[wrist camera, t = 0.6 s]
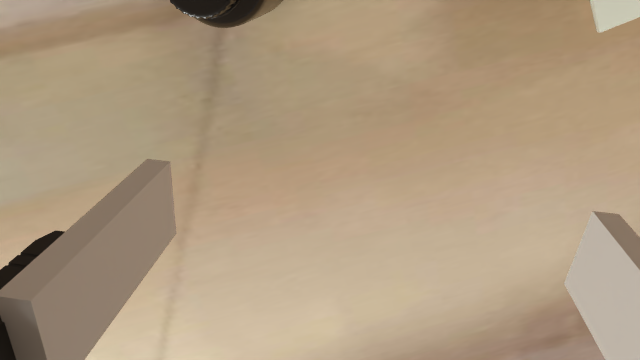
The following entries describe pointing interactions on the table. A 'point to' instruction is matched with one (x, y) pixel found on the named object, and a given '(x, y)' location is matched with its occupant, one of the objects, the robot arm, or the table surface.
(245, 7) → the supplement bottle
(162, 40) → the table surface
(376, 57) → the table surface
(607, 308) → the robot arm
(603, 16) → the coaster
